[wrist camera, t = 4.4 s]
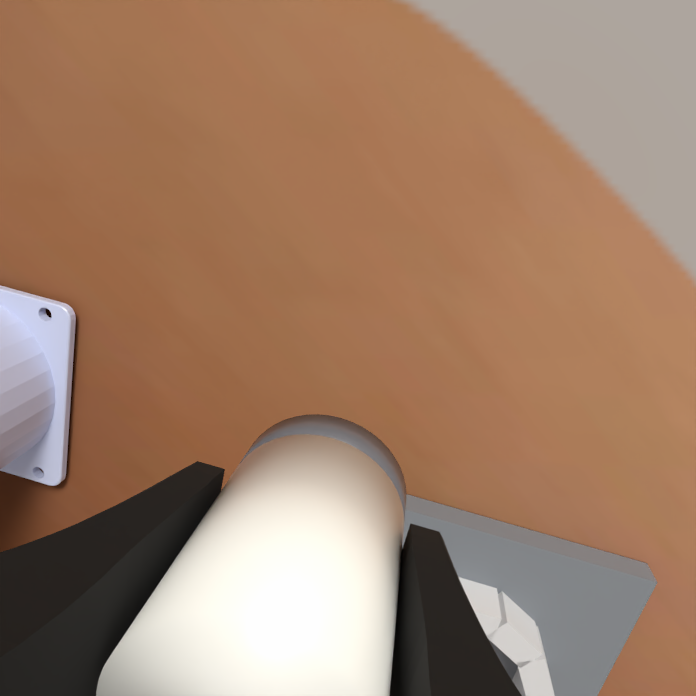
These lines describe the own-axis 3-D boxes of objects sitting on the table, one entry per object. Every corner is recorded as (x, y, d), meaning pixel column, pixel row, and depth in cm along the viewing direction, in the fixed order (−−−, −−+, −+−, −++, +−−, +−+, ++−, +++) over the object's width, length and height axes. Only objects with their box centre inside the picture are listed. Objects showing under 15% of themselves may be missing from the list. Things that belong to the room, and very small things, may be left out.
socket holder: (280, 693, 25) (264, 746, 23) (337, 474, 21) (325, 512, 19) (537, 775, 24) (548, 840, 22) (646, 563, 20) (675, 614, 18)
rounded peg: (229, 535, 14) (86, 787, 8) (256, 394, 12) (107, 578, 7) (382, 581, 13) (345, 875, 8) (426, 442, 12) (420, 674, 6)
